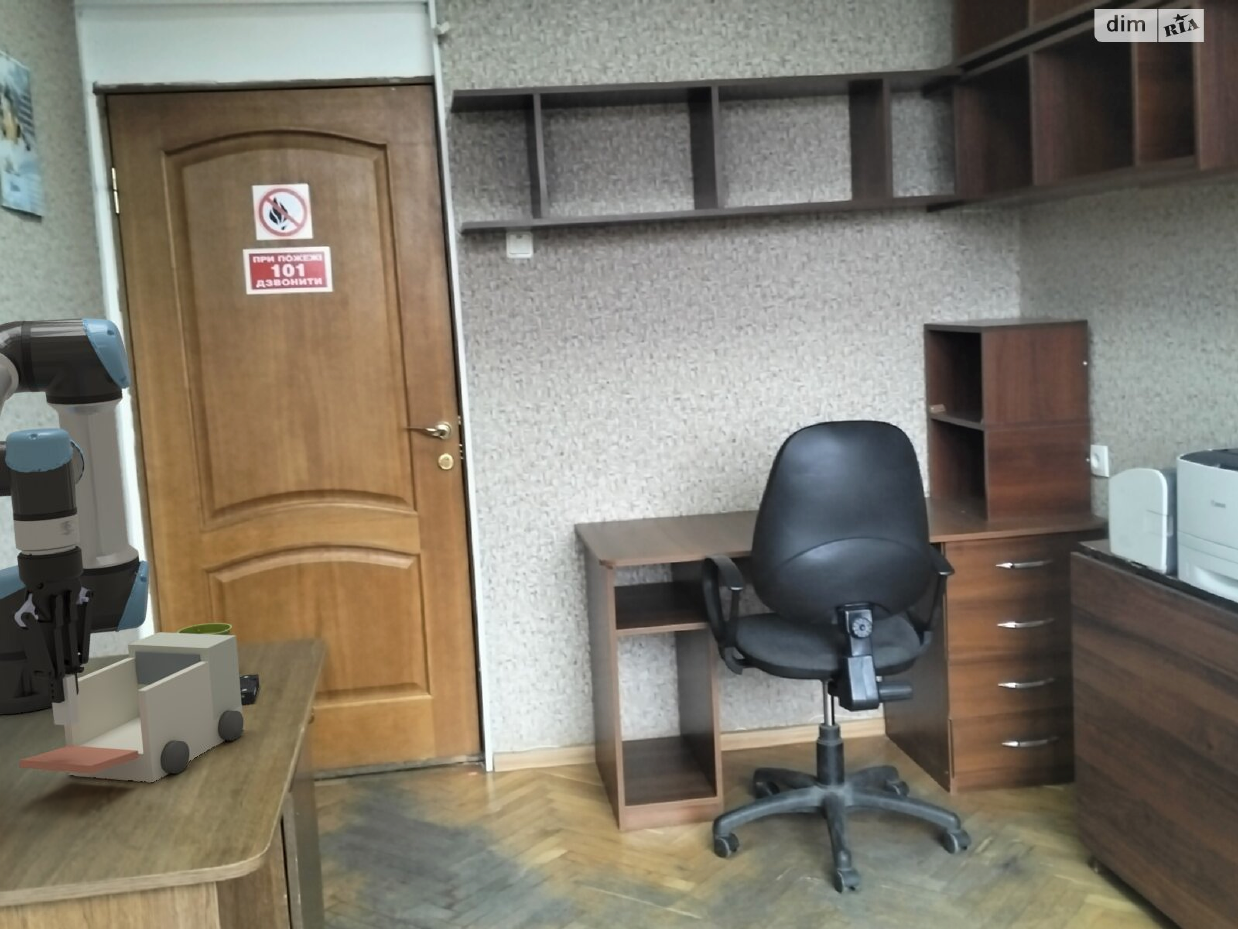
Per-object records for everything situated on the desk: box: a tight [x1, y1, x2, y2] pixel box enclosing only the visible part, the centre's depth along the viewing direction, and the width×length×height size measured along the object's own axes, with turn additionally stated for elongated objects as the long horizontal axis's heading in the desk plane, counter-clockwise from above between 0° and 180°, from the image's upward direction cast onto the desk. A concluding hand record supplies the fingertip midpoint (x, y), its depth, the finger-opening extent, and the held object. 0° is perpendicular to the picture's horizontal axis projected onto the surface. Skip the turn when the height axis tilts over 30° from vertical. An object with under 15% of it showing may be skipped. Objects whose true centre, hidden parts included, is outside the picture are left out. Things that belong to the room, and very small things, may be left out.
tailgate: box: [19, 745, 138, 774], centre depth 153 cm, size 11×1×9 cm
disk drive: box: [239, 673, 260, 706], centre depth 193 cm, size 10×3×15 cm
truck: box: [63, 631, 244, 783], centre depth 168 cm, size 17×21×15 cm
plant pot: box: [176, 622, 233, 635], centre depth 207 cm, size 9×9×9 cm
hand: (66, 723), depth 152 cm, fingers closed
